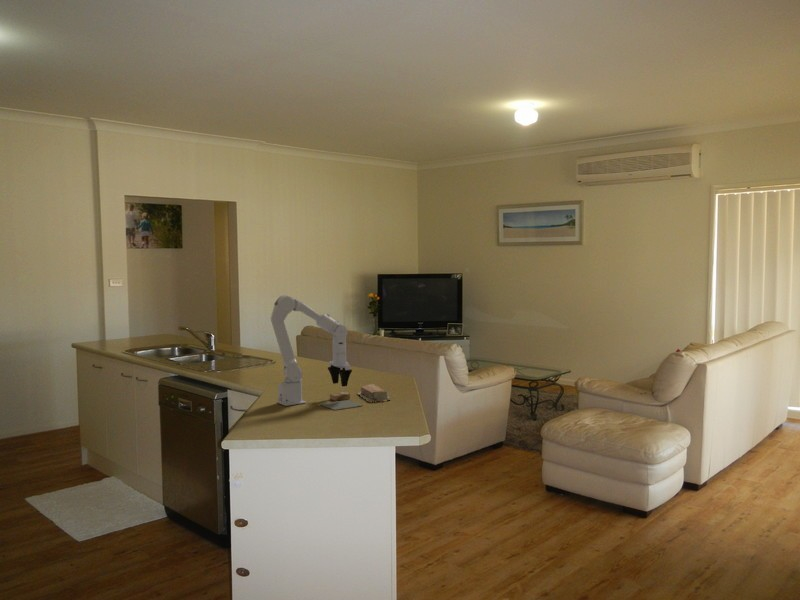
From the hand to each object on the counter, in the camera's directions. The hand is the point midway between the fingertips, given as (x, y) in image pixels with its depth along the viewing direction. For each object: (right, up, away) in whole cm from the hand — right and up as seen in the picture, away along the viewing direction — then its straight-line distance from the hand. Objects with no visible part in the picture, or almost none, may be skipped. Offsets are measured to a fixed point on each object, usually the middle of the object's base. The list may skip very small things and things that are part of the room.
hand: (339, 384), depth 274 cm
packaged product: (+14, -7, +4) cm, 16 cm away
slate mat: (+2, -7, -12) cm, 14 cm away
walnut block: (0, -7, 0) cm, 7 cm away
